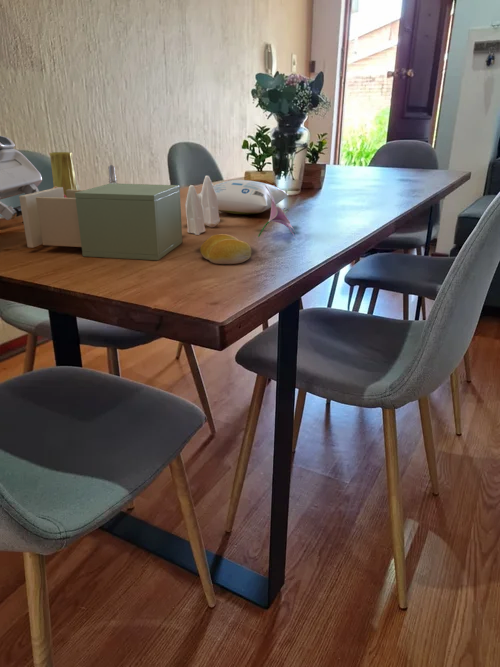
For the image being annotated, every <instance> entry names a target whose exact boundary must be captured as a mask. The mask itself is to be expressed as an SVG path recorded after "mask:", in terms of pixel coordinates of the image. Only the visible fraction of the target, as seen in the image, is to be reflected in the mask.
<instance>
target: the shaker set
mask: <svg viewBox="0 0 500 667" xmlns="http://www.w3.org/2000/svg"><path fill="white" fill-rule="evenodd" d="M203 178H204V179H203V182H202V187H201V191H200V192H201V202H200V199H199V197H198V193H197V189H196V187H195V186H194V185H193V184H190V185H189V186H188V190H187V194H186V199H185V206H184V207H185V216H186V226H187V227H186V228H187V230H186V232H187V233H189V234H194V235H195V236H199V235H200V234H202V233H205V232H206V226H207V227H209V228H215V227H216V226H217V225H219V223H220V221H221V218H220V211H218V200H217V195H216V192H215V190H214V187H213V186H214V184H213V181H212V180H211V177H210V175H205V176H204V177H203Z"/></svg>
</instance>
